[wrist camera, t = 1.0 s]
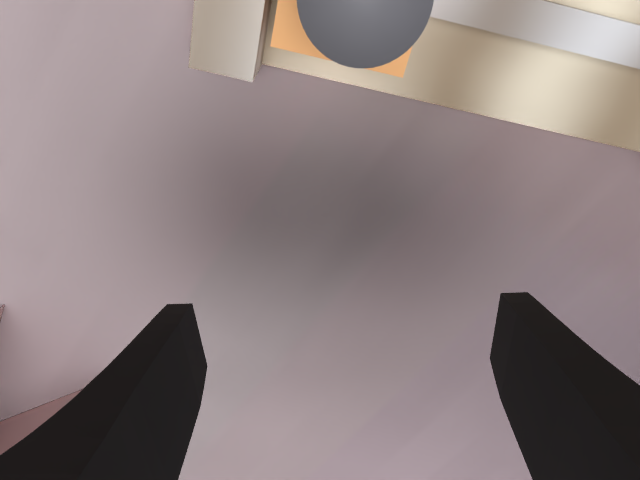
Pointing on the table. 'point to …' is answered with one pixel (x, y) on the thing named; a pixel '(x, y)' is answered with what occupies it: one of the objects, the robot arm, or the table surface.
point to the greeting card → (28, 419)
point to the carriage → (352, 31)
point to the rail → (472, 60)
